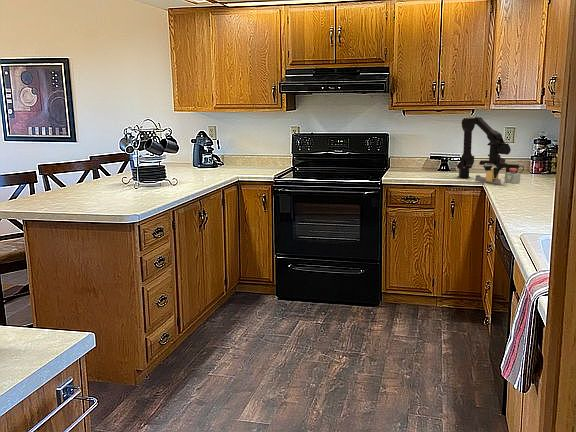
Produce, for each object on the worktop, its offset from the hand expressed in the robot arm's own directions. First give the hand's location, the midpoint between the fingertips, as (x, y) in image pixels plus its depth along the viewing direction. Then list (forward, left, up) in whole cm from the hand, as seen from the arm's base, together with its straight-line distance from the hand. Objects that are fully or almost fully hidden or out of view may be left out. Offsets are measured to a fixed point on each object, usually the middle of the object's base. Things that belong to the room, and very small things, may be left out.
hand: (492, 177), depth 377 cm
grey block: (+3, +14, -4) cm, 15 cm away
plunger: (+3, +14, 0) cm, 14 cm away
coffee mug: (-9, +28, -4) cm, 29 cm away
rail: (-4, 0, -4) cm, 5 cm away
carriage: (0, 0, -2) cm, 2 cm away
